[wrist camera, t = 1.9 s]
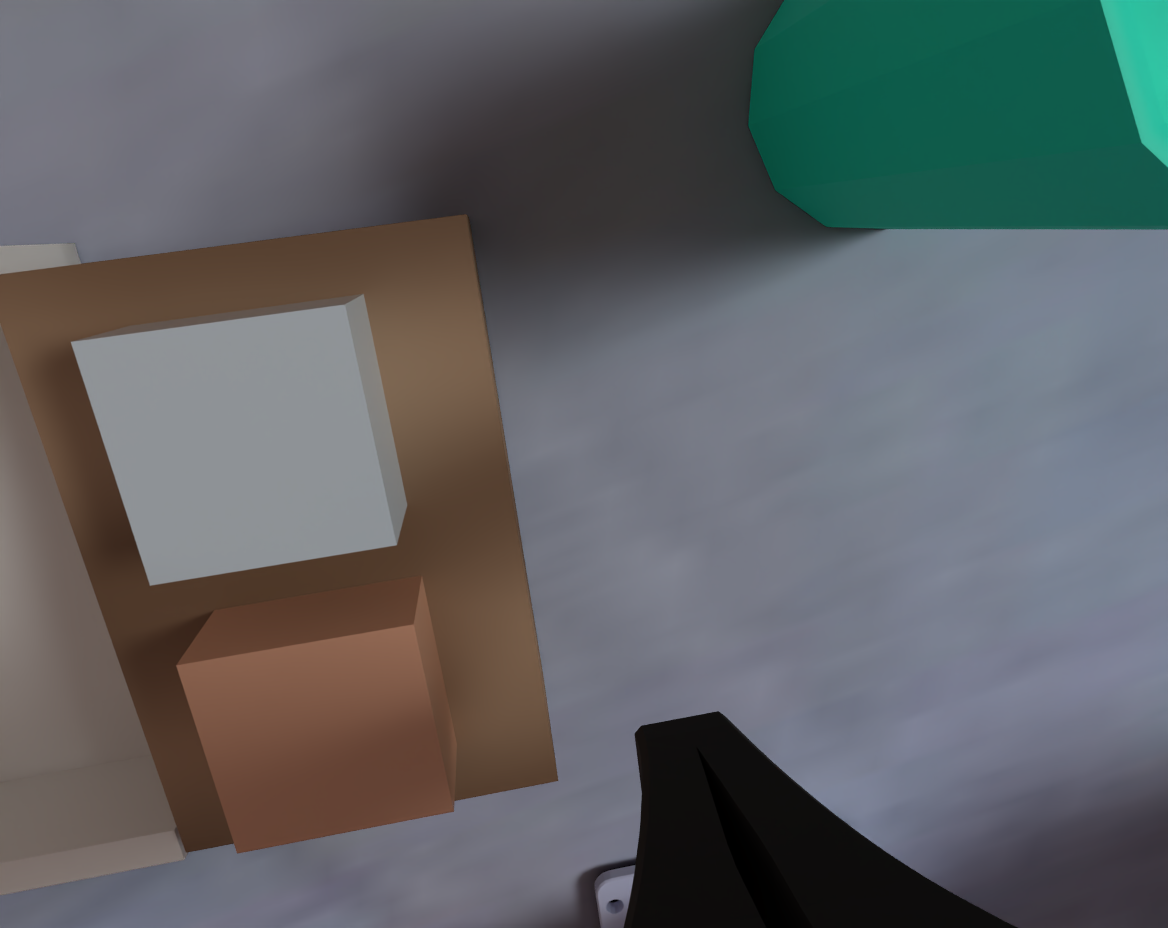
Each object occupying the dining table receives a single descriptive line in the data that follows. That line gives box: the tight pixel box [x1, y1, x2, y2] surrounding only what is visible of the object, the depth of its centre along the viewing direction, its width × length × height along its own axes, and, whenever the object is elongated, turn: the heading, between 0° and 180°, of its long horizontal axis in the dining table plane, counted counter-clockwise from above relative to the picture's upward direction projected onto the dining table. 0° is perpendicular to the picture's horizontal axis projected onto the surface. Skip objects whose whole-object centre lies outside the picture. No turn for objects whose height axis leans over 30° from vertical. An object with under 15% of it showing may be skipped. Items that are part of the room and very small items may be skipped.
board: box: [0, 214, 558, 853], centre depth 17 cm, size 12×8×4 cm, turn 7°
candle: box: [748, 0, 1168, 229], centre depth 12 cm, size 6×6×12 cm
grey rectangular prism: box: [71, 294, 407, 586], centre depth 13 cm, size 4×4×2 cm
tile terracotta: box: [176, 576, 457, 853], centre depth 15 cm, size 4×4×2 cm
